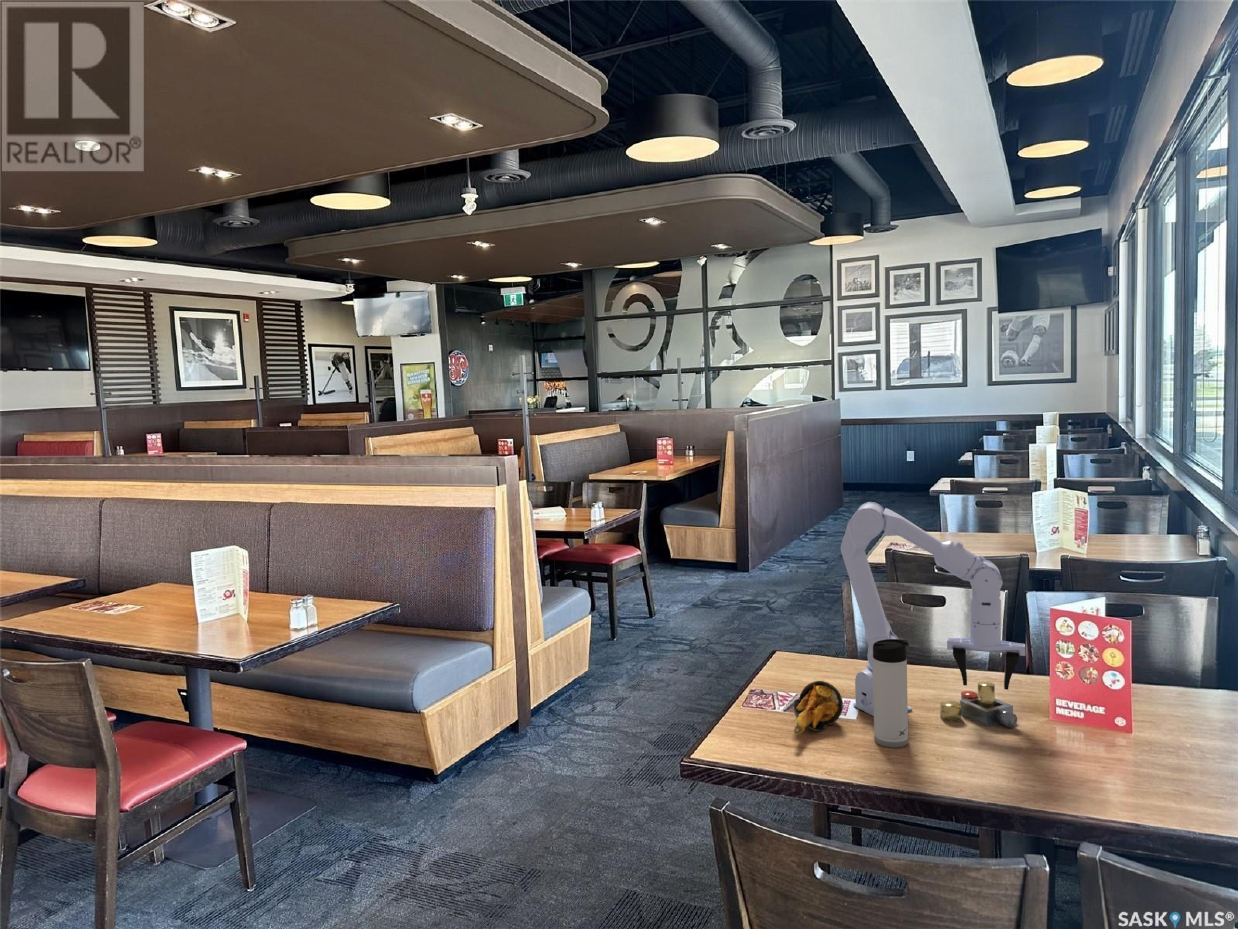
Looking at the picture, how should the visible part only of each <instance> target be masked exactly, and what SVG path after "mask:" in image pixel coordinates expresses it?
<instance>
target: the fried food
mask: <svg viewBox="0 0 1238 929" xmlns="http://www.w3.org/2000/svg"><path fill="white" fill-rule="evenodd" d="M798 698H799V699H795V700H793V702H792V708H793V713H794V716H795V718H796V721H795V723H794V729H793V733H794V734H795V736H798V735H800V734H802V733H803V732H805V730H806V729H808V730H810V731H815V732H823V731H824V730H825V727H827V726H830V725H832V724H834V723H836V722H837V721H838V720H839V718H840V717H841V715H842V713H843V708H844V701H843V697H842V695H841V693H840V691H839V690H838V689H837V688H836V687H835V686H834V685H833V684H831V683H829V682H828V681H824V680H816V681H812V682H810V683H808V684H807V685H805V687H803V689H802V690H801V692H800V694H799V696H798Z"/></svg>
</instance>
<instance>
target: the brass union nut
mask: <svg viewBox="0 0 1238 929" xmlns="http://www.w3.org/2000/svg"><path fill="white" fill-rule="evenodd" d="M939 705H940V706H939V709H940V712H939V714H940V719H941V720H943V721H944V722H950V723H958V722H961V721H962V715H961V704H960V702H957V701H955V700H954V701H953V700H943V701H940V704H939Z"/></svg>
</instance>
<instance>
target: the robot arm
mask: <svg viewBox="0 0 1238 929" xmlns="http://www.w3.org/2000/svg"><path fill="white" fill-rule="evenodd" d="M882 531H883V532H884V533H883V537H893V536H895V537H897V536H898V537H900V538H902V539H903V540H905V541H907V542H909V543H911V544H913V545H914V546H916V547H918V548H920V549H922V550H924V551H926V552H927V553H929V554H930V555H932V556H933V558H934V562H935V563H934V564H936V565H938V566H939V567H940V568H943V569H944V570H945V571H948V572H949V573H950V574H952V575H954V576H956V577H957V578H959V579H961V580H962V581H965V582H969V583H970V586H971V596H970V599H969V604H970V605H969V611H970V612H969V613H970V614H969V618H970V619H969V622H970V623H969V624H970V625H969V627H970V628H969V629H970V630H969V633H970V635H969V637H960V638H959V637H956V638H955V637H947V639H946V649H947V651H948V650H950V651H951V650H952V656H953V659H954V660H955V662H956V664H957V666H958V669H959V671H960V674H961V678H962V685H963V686H968V674H967V651H973V652H974V651H975V652H983V653H985V652H986V653H987V652H988V653H997V654H1004V679H1003V689H1004V690H1005V691H1006V690H1009V686H1010V681H1011V679H1012V675H1013V673H1014V671H1015V669H1016V667H1017V666H1018V664H1019V662H1020V656H1021V657H1022V656H1023V657H1026V644H1025V643H1021V642H1020V643H1018V642H1013V641H1007V640H1002V636H1001V635H1002V632H1001V631H1002V624H1001V623H1002V600H1001V598H1000V597H1001V588H1002V587H1003V584H1004V581H1003V579H1002V576H1001V573H1000V570H999V568H998V566H997V565H995V564H994V563H993V562H992V561H991V560H990V559H989V560H988V559H986V557H984V556H983V555H979V556H978V555H976V554H975V553H973V552H971V551H970V550H968V549H966V548H965V547H964V544H963V543H962V542H961V541H959V540H958V541H957V542H954V541H953V540H947V541H941V540H940V539H938V538H936V537H935V536H933V535H932V534H930V533H928V532H927V531H926V530H924V529H923V528H920V526H917V525H916V524H915V523H913V522H912V521H910V520H908V519H906V517H903V515H900V514H899V513H897V512H896V511H893V510H891V509H889V508H887V507H885V509H884V507H883V506H882V505H881V504H879V503H877V502H874V501H873V502H872V501H868V502H865V503H863V504H861V505H860V506H859V507H858V508H857V510H856V511H855V513H853V515H852V516H851V518H850V520H849V521H848V522H847V524H846V529H845V532H844V535H843V537H842V541H841V545H840V553H841V556H842V559H843V562H844V566H845V569H846V571H847V575H848V578H849V582H850V584H851V587H852V592H853V594H854V597H855V600H856V603H857V606H858V609H859V613H860V616H861V619H862V622H863V626H864V629H865V630H864V631H865V638H866V642H867V646H868V650H867V662H866V666H865V668H864V669H863V670H861V671H858V672H857V673H856V675H855V679H854V683H855V684H854V685H855V686H854V687H855V689H854V690H855V702H854V703H853V704H852V706H854V707H855V708H857V709H859V710H861V711H862V712H863V711H864V712H865V713H866V714H868V715H870V716H872V717H874V696H873V645H874V643H875V642H877V641H880V640H886V639H899V638H898V636H897V635H896V634H895V632H893V631H892V627H891V625H890V623H889V621H888V619H887V617H886V613H885V610H884V608H883V604H882V601H881V597H880V595H879V591H878V588H877V585H876V582H875V579H874V576H873V572H872V569H871V566H870V563H869V560H868V557H867V553H866V549H867V547H868V546H869V544H870V543H871V541H872V540H873V539H875V538H876V537H877V536H879V534H881V533H882ZM912 710H913V707H912V706H910V705H908V712H909V711H912Z"/></svg>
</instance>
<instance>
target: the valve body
mask: <svg viewBox="0 0 1238 929" xmlns="http://www.w3.org/2000/svg"><path fill="white" fill-rule="evenodd" d="M960 697H961V700H959V703H960V704H961V716H962V717H965V718H967V719H969V720H971V721H974V722H976V723H978V724H980V725H983V726H984V727H990V726H995V725H998V724H1001V725H1003V726H1005V727H1008V728H1010V729H1011V728H1014V727H1016V725H1017V723H1018V717H1017V715H1016V714H1015V713H1014V705H1012V704H1010V703H1007V702H1005V701H1004V700H1003V701H1002V700H1000V699H997V698H995V707H992V708H988V709H986V708H983V707H981V706H979V705H978V692H975V691H972V690H963V691H961V692H960Z"/></svg>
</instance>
